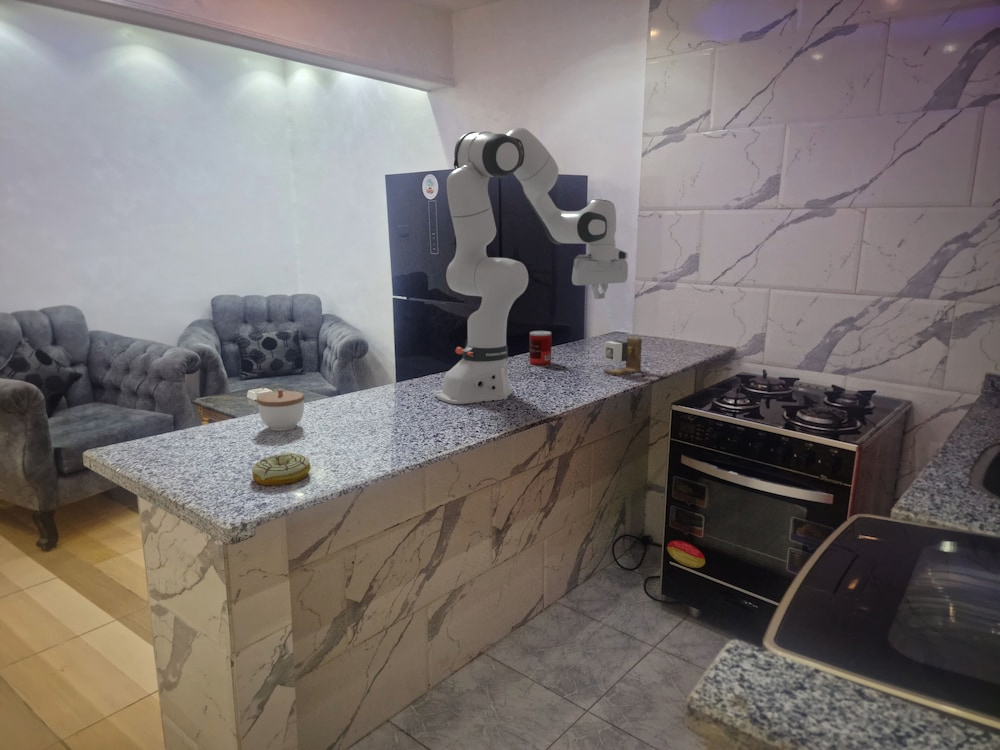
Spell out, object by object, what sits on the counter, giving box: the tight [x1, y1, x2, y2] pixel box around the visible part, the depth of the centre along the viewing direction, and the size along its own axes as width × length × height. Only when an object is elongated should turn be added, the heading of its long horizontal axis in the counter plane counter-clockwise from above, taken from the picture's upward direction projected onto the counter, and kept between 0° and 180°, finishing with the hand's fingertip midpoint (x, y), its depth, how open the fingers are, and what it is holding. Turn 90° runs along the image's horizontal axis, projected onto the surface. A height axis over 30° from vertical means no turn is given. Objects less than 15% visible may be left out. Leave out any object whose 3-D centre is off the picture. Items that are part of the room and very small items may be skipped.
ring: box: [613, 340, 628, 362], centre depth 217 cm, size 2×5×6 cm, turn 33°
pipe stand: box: [603, 336, 643, 376], centre depth 218 cm, size 12×5×11 cm, turn 123°
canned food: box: [529, 330, 553, 366], centre depth 233 cm, size 8×8×11 cm
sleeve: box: [603, 340, 623, 363], centre depth 215 cm, size 3×5×6 cm, turn 33°
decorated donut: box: [251, 452, 311, 487], centre depth 129 cm, size 10×11×4 cm
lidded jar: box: [256, 388, 305, 432], centre depth 160 cm, size 11×11×9 cm
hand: (599, 298), depth 208 cm, fingers closed
